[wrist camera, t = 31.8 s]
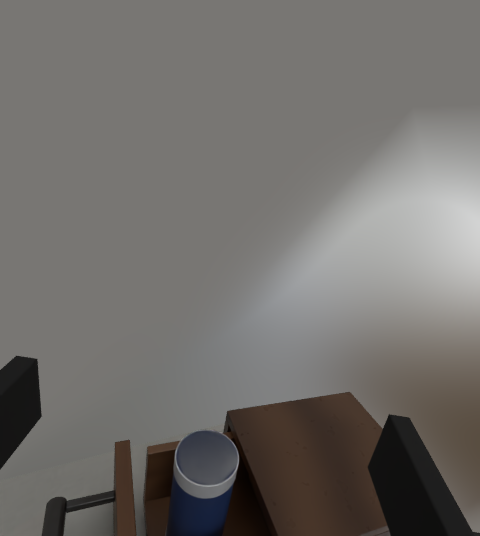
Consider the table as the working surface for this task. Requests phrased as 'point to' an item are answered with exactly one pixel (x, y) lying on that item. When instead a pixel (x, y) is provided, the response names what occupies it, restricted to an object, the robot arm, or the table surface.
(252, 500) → the drawer
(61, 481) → the table surface
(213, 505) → the blue cylindrical container
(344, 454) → the cabinet
